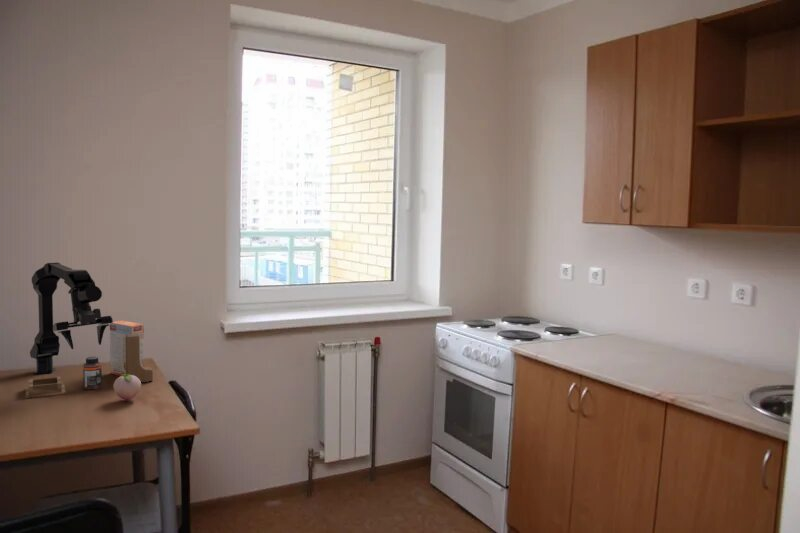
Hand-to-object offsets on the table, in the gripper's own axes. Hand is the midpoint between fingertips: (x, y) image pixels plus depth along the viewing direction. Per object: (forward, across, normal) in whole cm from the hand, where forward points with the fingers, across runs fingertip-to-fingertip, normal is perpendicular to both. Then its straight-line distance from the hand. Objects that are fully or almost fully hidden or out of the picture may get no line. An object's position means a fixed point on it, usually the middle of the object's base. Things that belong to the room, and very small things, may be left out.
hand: (86, 346), depth 223 cm
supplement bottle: (+15, +1, +1) cm, 15 cm away
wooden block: (+16, +17, 0) cm, 23 cm away
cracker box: (+14, +16, +11) cm, 24 cm away
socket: (+13, -14, +6) cm, 20 cm away
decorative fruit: (+20, +6, -21) cm, 30 cm away
